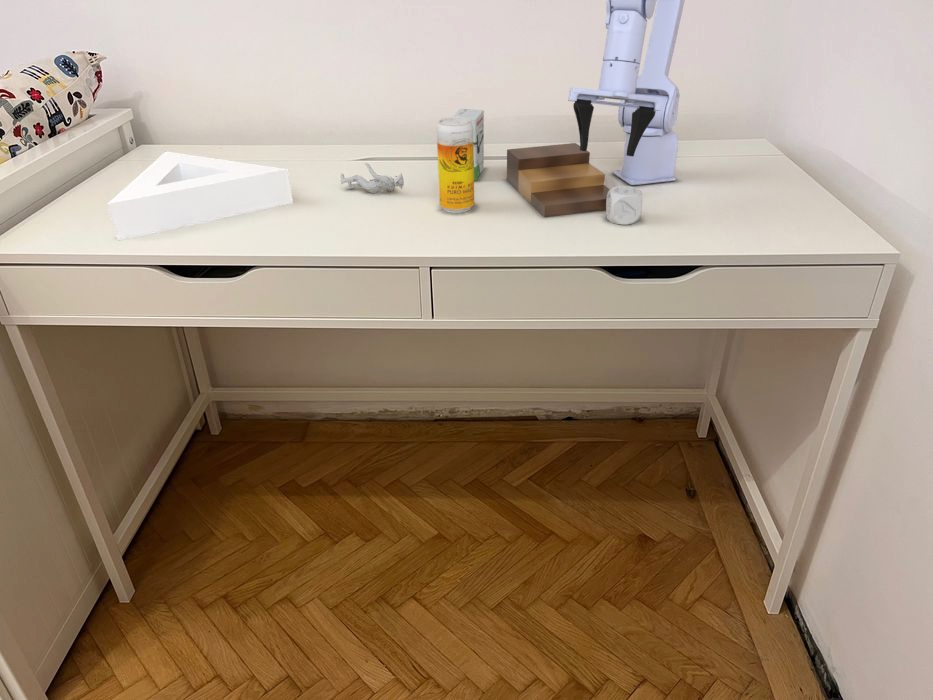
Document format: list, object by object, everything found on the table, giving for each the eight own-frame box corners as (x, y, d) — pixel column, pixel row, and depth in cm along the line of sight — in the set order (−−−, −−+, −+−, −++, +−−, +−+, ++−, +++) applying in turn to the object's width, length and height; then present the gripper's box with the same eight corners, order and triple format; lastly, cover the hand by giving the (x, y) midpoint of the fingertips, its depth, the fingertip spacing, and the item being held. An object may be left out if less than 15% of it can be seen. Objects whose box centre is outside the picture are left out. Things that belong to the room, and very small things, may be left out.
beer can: (449, 216, 119) (446, 127, 111) (434, 205, 124) (430, 119, 116) (480, 209, 121) (479, 122, 113) (464, 199, 126) (462, 114, 118)
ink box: (476, 181, 135) (476, 118, 128) (452, 180, 136) (450, 118, 129) (484, 168, 142) (484, 108, 136) (461, 167, 143) (459, 107, 137)
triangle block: (118, 241, 113) (106, 204, 109) (92, 198, 131) (81, 165, 128) (293, 203, 126) (288, 169, 123) (247, 169, 145) (241, 138, 142)
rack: (573, 173, 138) (575, 142, 135) (620, 208, 121) (623, 174, 118) (506, 180, 135) (506, 149, 132) (544, 217, 118) (545, 182, 115)
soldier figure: (357, 188, 136) (412, 172, 131) (357, 210, 134) (412, 195, 130) (335, 168, 129) (391, 151, 125) (335, 192, 127) (392, 175, 123)
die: (640, 224, 114) (643, 195, 111) (609, 225, 114) (612, 195, 111) (634, 213, 118) (637, 185, 116) (605, 214, 118) (607, 185, 116)
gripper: (579, 55, 103) (566, 149, 107) (675, 66, 104) (657, 159, 108) (571, 59, 110) (559, 147, 114) (661, 69, 111) (645, 157, 115)
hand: (606, 153), depth 112 cm, fingers open, 7 cm apart
